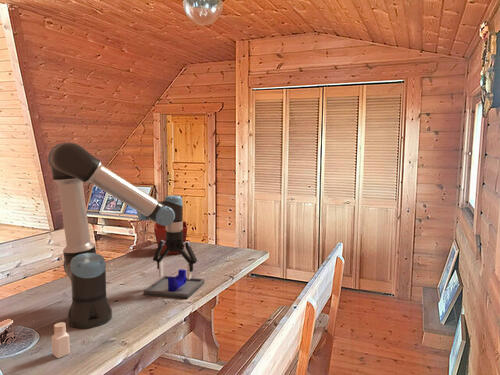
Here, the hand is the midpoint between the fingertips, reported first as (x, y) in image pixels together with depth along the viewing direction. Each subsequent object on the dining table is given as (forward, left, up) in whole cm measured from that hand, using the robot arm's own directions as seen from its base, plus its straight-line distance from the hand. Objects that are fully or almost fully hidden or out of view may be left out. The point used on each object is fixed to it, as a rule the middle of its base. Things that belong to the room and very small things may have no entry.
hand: (175, 277), depth 177 cm
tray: (0, 0, -5) cm, 5 cm away
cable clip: (0, 0, -4) cm, 4 cm away
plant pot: (+58, +29, -6) cm, 65 cm away
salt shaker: (-61, +10, -5) cm, 62 cm away
